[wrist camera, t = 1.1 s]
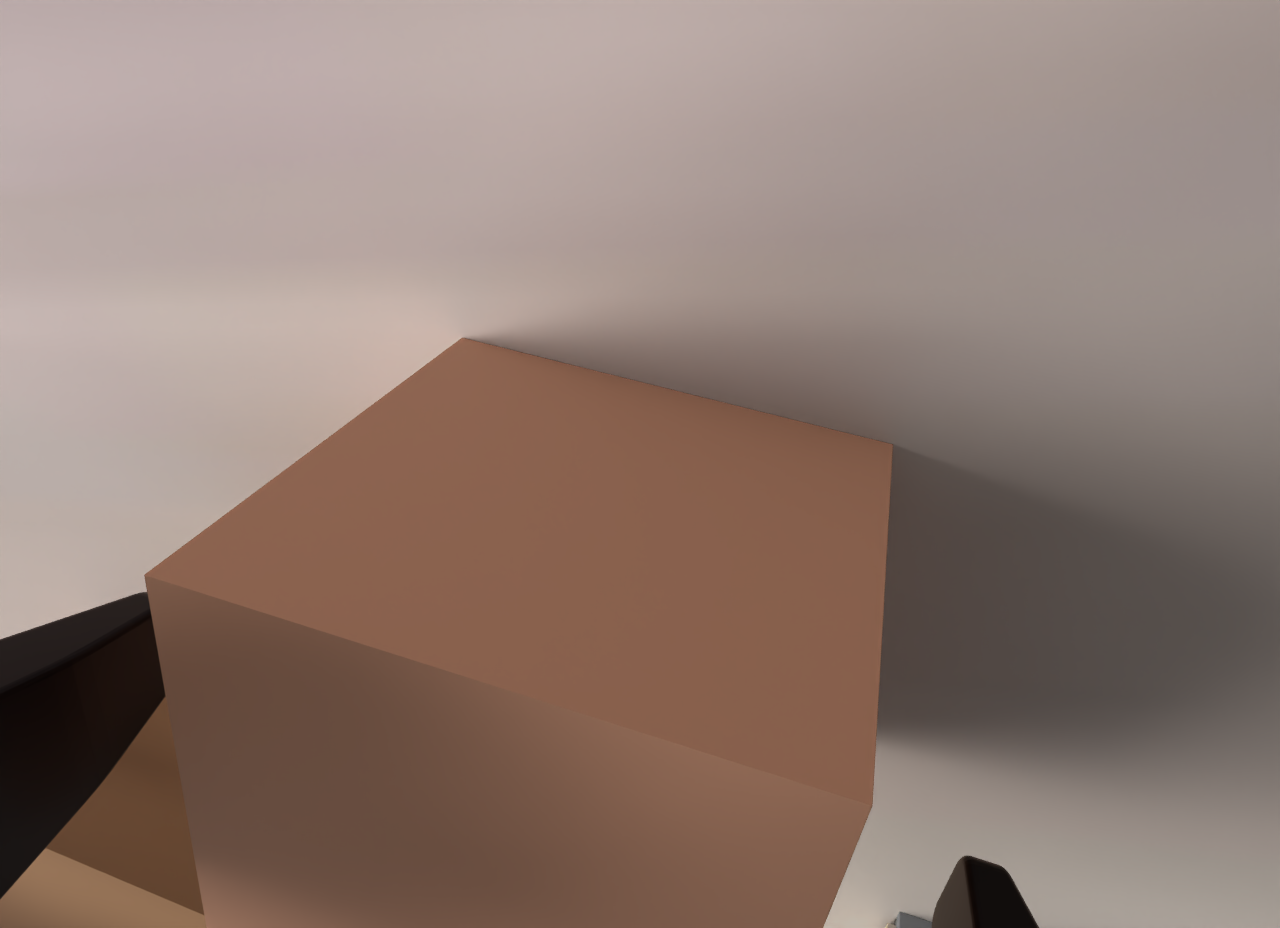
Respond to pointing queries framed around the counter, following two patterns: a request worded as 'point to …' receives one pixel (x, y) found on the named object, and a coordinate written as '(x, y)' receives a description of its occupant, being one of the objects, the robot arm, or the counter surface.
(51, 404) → the counter surface
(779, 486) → the terracotta clay cube
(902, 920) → the light blue block
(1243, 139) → the counter surface
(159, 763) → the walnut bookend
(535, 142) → the counter surface
